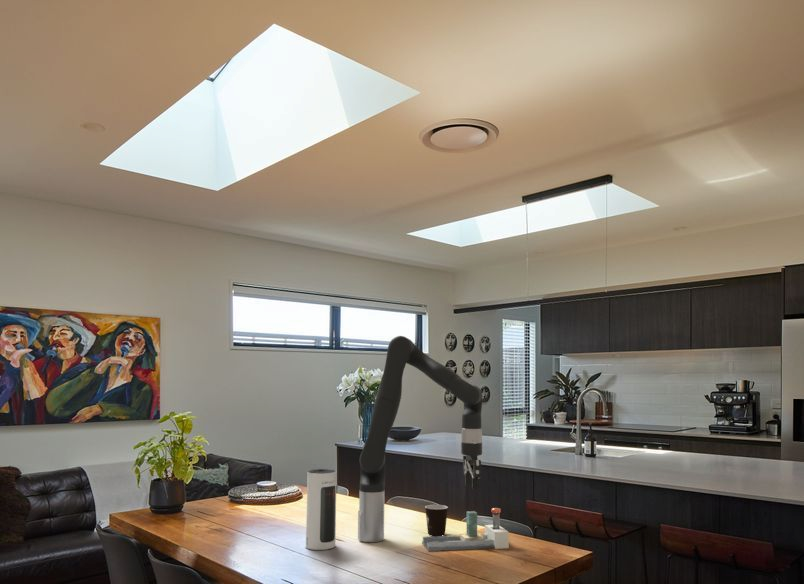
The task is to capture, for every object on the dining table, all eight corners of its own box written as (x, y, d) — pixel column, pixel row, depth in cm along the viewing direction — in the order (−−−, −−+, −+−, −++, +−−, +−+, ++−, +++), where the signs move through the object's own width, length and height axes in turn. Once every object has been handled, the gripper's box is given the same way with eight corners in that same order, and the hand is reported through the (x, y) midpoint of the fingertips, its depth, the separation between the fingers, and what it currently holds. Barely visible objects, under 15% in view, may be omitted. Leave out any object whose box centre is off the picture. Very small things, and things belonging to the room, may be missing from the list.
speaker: (310, 552, 208) (312, 472, 212) (300, 544, 217) (303, 468, 221) (339, 548, 213) (341, 470, 216) (329, 541, 222) (330, 466, 226)
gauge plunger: (493, 536, 218) (493, 509, 220) (490, 534, 221) (490, 508, 223) (502, 536, 219) (501, 509, 220) (499, 534, 222) (498, 507, 223)
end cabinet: (495, 548, 214) (494, 532, 215) (484, 540, 225) (484, 525, 225) (508, 548, 215) (508, 531, 216) (497, 540, 226) (497, 524, 226)
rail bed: (428, 551, 210) (428, 543, 210) (422, 543, 220) (422, 536, 220) (504, 548, 215) (504, 540, 216) (494, 540, 225) (494, 533, 225)
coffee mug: (446, 537, 229) (446, 509, 230) (423, 536, 230) (423, 508, 232) (450, 530, 240) (450, 503, 241) (428, 529, 242) (428, 502, 243)
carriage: (464, 543, 215) (464, 514, 217) (460, 540, 220) (460, 511, 222) (483, 543, 216) (483, 513, 218) (479, 539, 221) (478, 510, 223)
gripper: (456, 439, 229) (456, 484, 227) (467, 443, 216) (467, 491, 213) (475, 439, 231) (475, 484, 229) (488, 443, 217) (488, 490, 215)
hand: (471, 487), depth 221 cm, fingers open, 8 cm apart
